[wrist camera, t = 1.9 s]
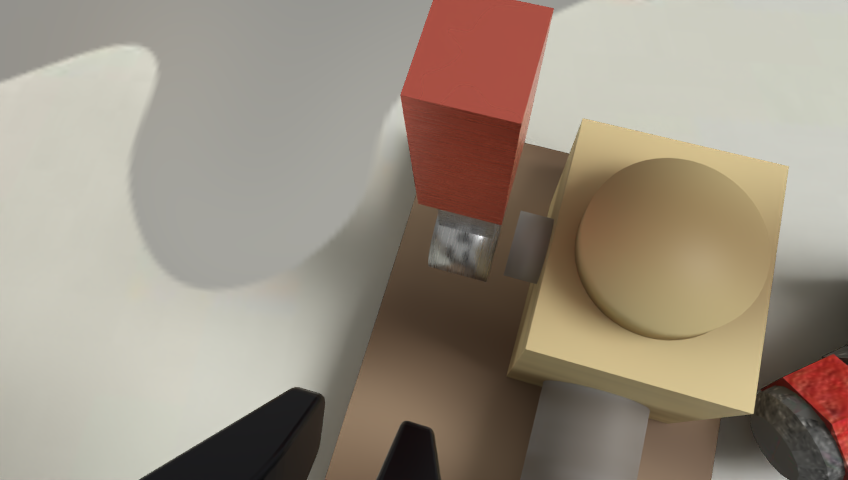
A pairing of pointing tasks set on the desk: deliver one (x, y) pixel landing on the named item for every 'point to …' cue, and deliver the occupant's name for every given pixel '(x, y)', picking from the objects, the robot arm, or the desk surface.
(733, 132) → the desk surface
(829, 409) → the toy minigun
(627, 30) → the desk surface
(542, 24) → the lever
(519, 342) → the ball valve manifold
